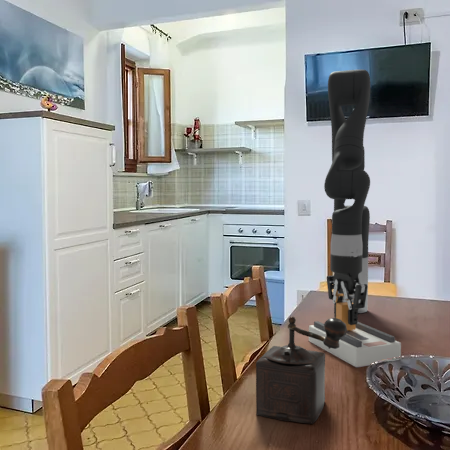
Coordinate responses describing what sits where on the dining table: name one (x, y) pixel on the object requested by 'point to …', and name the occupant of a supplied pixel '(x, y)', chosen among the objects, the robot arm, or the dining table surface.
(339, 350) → the breaker panel
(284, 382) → the manual coffee grinder
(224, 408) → the dining table surface
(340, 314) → the block
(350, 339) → the pair of grey rails
